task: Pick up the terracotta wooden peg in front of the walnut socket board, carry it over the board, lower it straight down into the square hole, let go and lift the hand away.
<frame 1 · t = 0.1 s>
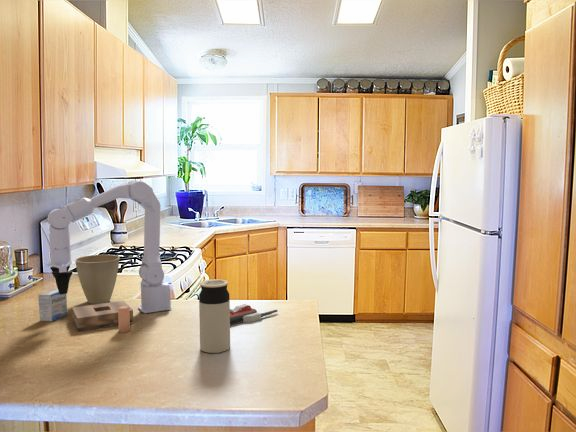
hand: (62, 291, 152), 10 cm above the counter, tool pointing down, fingers open, 7 cm apart
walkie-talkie: (247, 319, 157), on the counter
travel mug: (215, 349, 131), on the counter
plant pot: (99, 302, 177), on the counter
socket board: (102, 321, 154), on the counter
peg: (124, 330, 145), on the counter
medicine box: (53, 318, 158), on the counter
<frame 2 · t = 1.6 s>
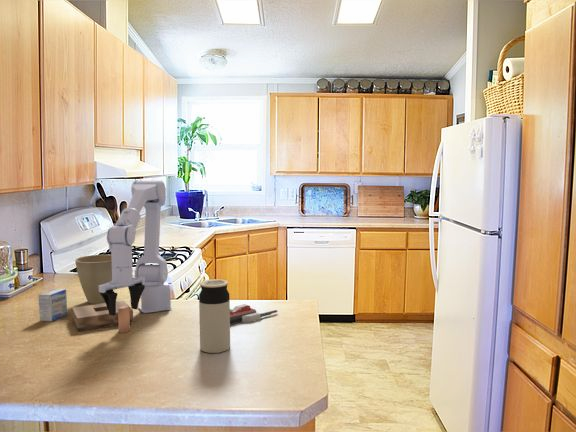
hand: (123, 311, 144), 6 cm above the counter, tool pointing down, fingers open, 7 cm apart
nothing on the counter moved.
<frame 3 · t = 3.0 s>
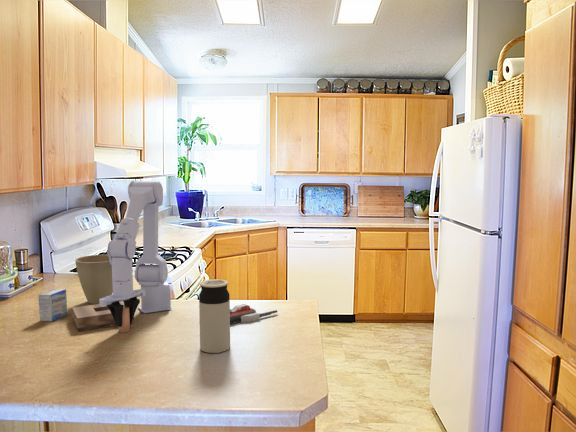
hand: (124, 324, 145), 2 cm above the counter, tool pointing down, fingers closed on peg, 3 cm apart
peg: (124, 330, 145), on the counter, touching gripper
everything else where it was.
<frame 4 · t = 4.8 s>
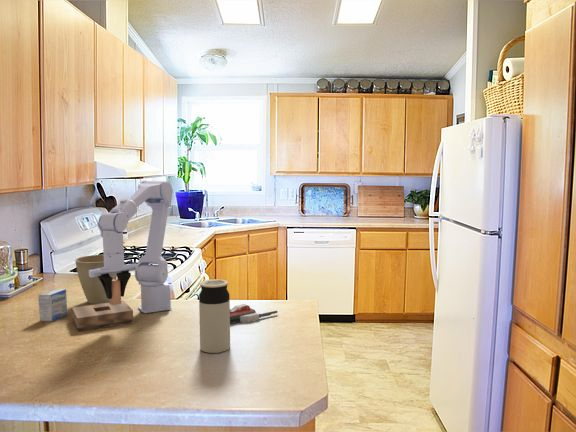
hand: (115, 297, 147), 9 cm above the counter, tool pointing down, fingers closed on peg, 3 cm apart
peg: (115, 303, 147), point 7 cm above the counter, touching gripper
everything else where it was.
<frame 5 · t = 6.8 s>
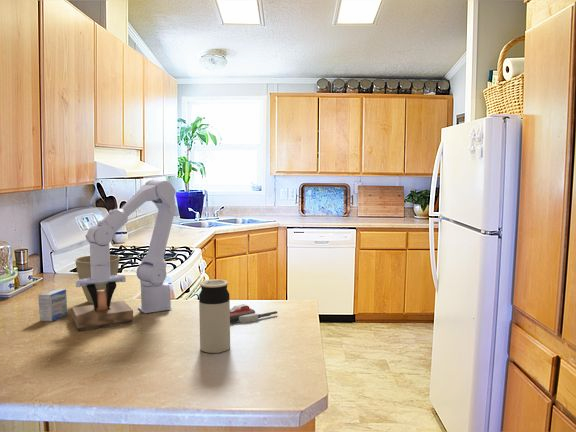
hand: (102, 306, 154), 5 cm above the counter, tool pointing down, fingers closed on peg, 3 cm apart
peg: (102, 312, 154), point 3 cm above the counter, touching gripper
everything else where it was.
when the fingers open (5 cm above the counter, at t = 7.3 s): peg drops 2 cm, resting on socket board.
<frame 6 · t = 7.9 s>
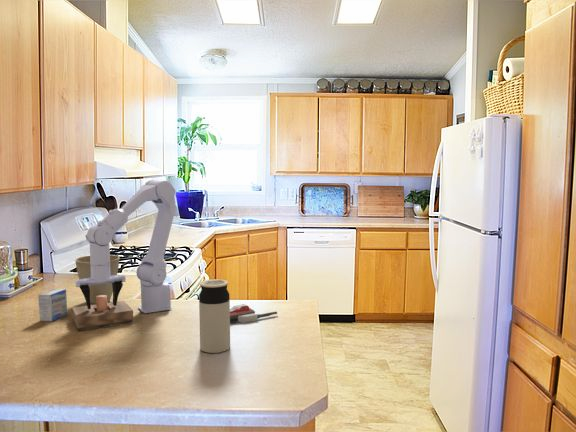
hand: (102, 306, 154), 5 cm above the counter, tool pointing down, fingers open, 7 cm apart
peg: (102, 318, 154), point 1 cm above the counter, touching socket board
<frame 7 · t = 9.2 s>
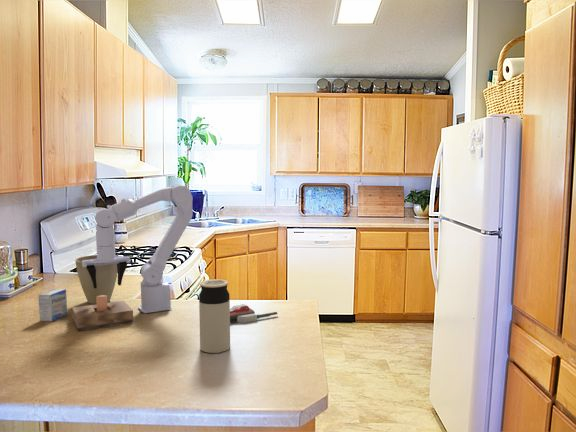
hand: (107, 286, 161), 9 cm above the counter, tool pointing down, fingers open, 7 cm apart
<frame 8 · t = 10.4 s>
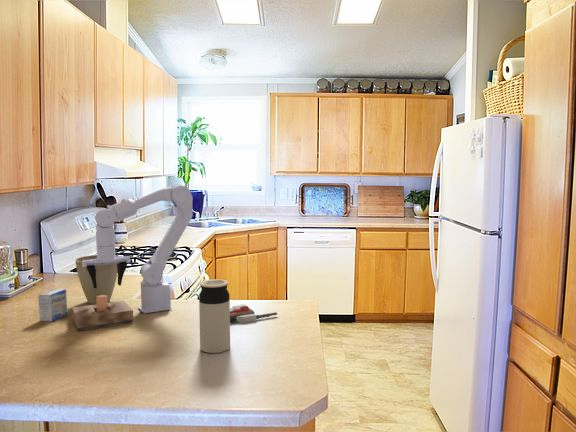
hand: (107, 286, 161), 9 cm above the counter, tool pointing down, fingers open, 7 cm apart
at the end: peg 0.0 cm off-centre on the socket board, point 1.0 cm above the socket board's base; peg tilted 0°; the gripper is holding nothing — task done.
